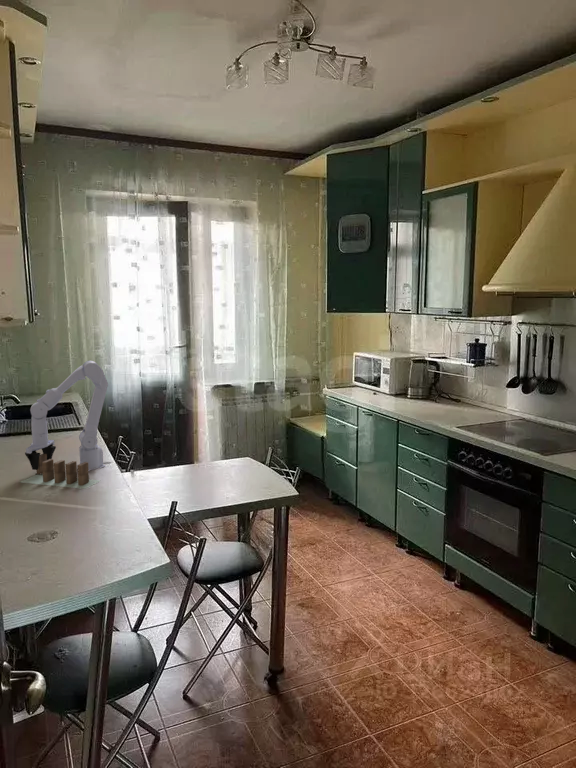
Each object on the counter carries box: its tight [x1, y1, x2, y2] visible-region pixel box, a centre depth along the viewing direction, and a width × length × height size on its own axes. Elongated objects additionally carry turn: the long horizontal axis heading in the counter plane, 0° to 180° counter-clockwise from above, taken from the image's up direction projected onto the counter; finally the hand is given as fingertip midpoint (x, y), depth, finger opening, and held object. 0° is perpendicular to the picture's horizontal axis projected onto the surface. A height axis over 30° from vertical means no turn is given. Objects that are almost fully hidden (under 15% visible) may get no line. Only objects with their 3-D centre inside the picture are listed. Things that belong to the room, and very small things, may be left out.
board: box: [20, 474, 101, 490], centre depth 219 cm, size 10×28×1 cm, turn 75°
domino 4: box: [65, 460, 78, 484], centre depth 217 cm, size 4×2×8 cm, turn 165°
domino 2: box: [42, 458, 55, 482], centre depth 219 cm, size 4×2×8 cm, turn 165°
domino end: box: [77, 462, 90, 486], centre depth 216 cm, size 4×2×8 cm, turn 165°
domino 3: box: [53, 459, 66, 483], centre depth 218 cm, size 4×2×8 cm, turn 165°
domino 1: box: [36, 453, 47, 475], centre depth 229 cm, size 4×2×8 cm, turn 165°
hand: (41, 466), depth 229 cm, fingers open, 7 cm apart
